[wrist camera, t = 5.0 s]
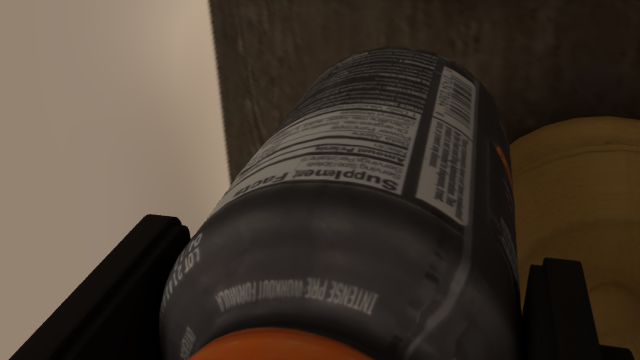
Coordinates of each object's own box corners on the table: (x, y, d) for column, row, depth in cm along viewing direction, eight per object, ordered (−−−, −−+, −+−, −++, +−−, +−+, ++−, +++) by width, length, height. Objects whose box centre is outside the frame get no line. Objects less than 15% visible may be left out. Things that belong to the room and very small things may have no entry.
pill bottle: (463, 265, 18) (427, 735, 9) (276, 199, 19) (44, 570, 9) (549, 82, 15) (645, 491, 5) (323, 10, 16) (48, 266, 6)
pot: (458, 279, 36) (449, 411, 27) (470, 86, 31) (463, 175, 22) (680, 300, 33) (747, 454, 25) (735, 94, 28) (845, 198, 19)
